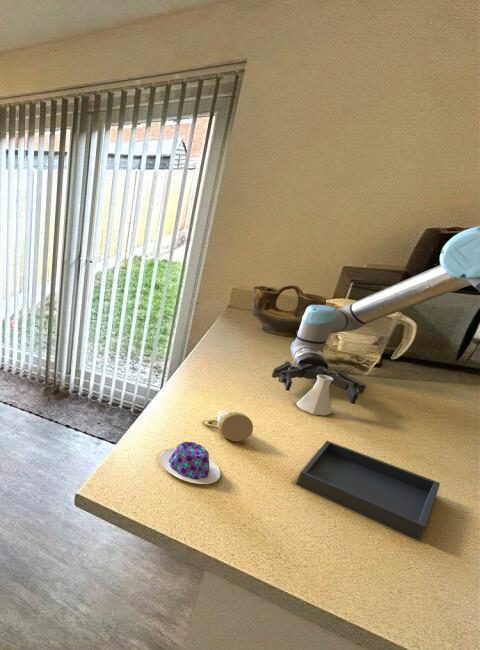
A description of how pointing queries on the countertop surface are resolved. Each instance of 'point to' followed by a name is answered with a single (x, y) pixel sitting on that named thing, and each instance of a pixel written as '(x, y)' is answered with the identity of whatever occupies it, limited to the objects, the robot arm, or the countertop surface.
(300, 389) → the countertop surface
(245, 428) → the mug
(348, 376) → the robot arm
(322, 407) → the flask
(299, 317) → the pottery vessel
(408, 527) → the tray
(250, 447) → the countertop surface
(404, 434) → the countertop surface
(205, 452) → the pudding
